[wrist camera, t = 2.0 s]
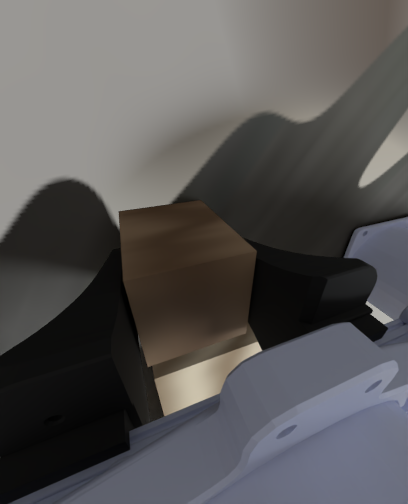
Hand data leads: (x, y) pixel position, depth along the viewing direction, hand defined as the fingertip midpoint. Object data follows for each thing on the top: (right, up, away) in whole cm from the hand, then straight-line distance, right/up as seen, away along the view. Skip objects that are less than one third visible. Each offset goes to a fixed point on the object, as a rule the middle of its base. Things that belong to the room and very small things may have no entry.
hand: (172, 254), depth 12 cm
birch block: (+3, -12, +11) cm, 17 cm away
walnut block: (-1, +1, +1) cm, 2 cm away
